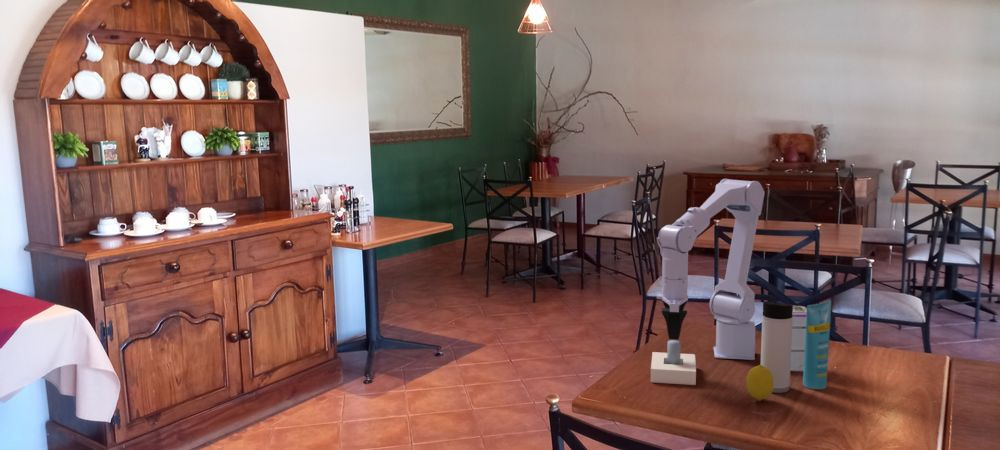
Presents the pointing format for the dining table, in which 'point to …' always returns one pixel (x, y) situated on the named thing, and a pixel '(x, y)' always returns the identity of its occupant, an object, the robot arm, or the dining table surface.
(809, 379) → the tube
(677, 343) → the dowel
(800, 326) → the syrup box
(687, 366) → the bore block
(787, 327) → the travel mug
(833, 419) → the dining table surface
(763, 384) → the lemon
